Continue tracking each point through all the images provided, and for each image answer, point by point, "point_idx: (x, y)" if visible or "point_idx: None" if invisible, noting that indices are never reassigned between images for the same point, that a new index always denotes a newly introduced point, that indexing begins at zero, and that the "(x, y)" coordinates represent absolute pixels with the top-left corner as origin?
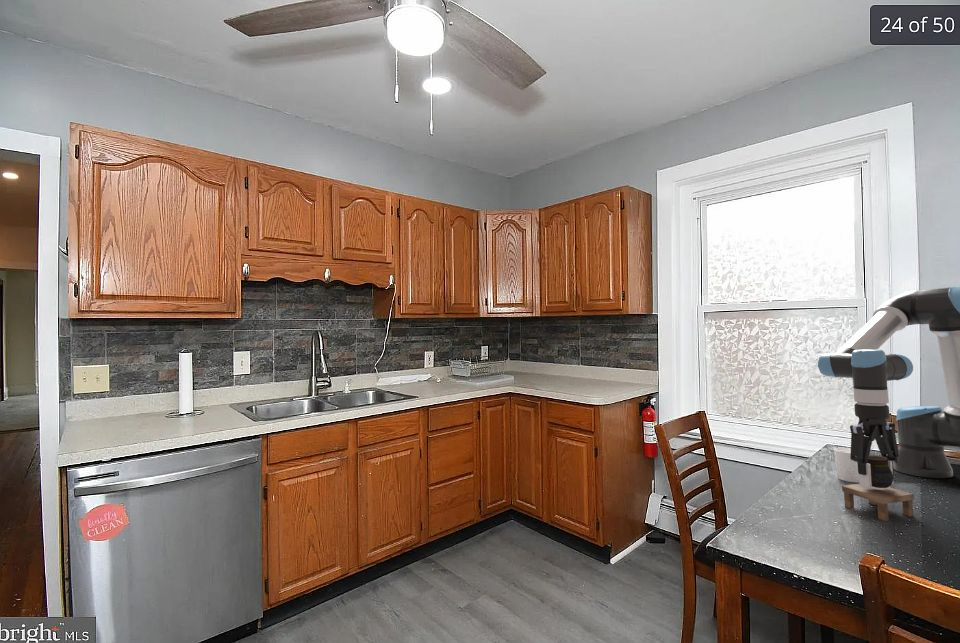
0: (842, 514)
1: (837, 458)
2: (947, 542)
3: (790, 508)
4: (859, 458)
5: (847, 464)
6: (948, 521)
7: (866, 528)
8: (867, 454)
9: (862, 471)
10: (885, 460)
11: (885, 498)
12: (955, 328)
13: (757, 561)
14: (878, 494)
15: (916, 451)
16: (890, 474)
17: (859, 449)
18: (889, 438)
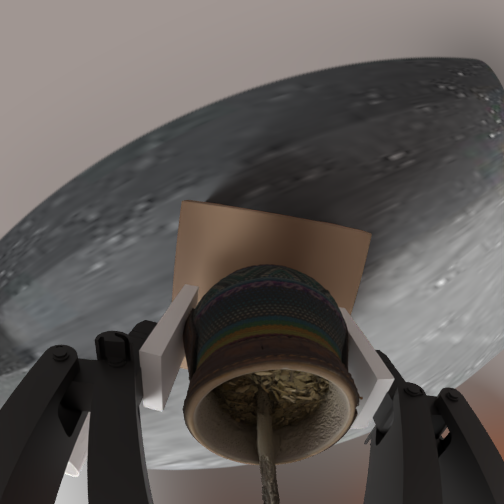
0: (378, 308)
1: (85, 459)
2: (354, 70)
3: (420, 375)
4: (466, 401)
5: (81, 437)
6: (165, 130)
7: (429, 221)
8: (418, 432)
9: (390, 364)
10: (293, 355)
11: (358, 231)
12: None
13: None
14: (328, 272)
15: None
16: (275, 279)
17: (493, 444)
18: (24, 496)
